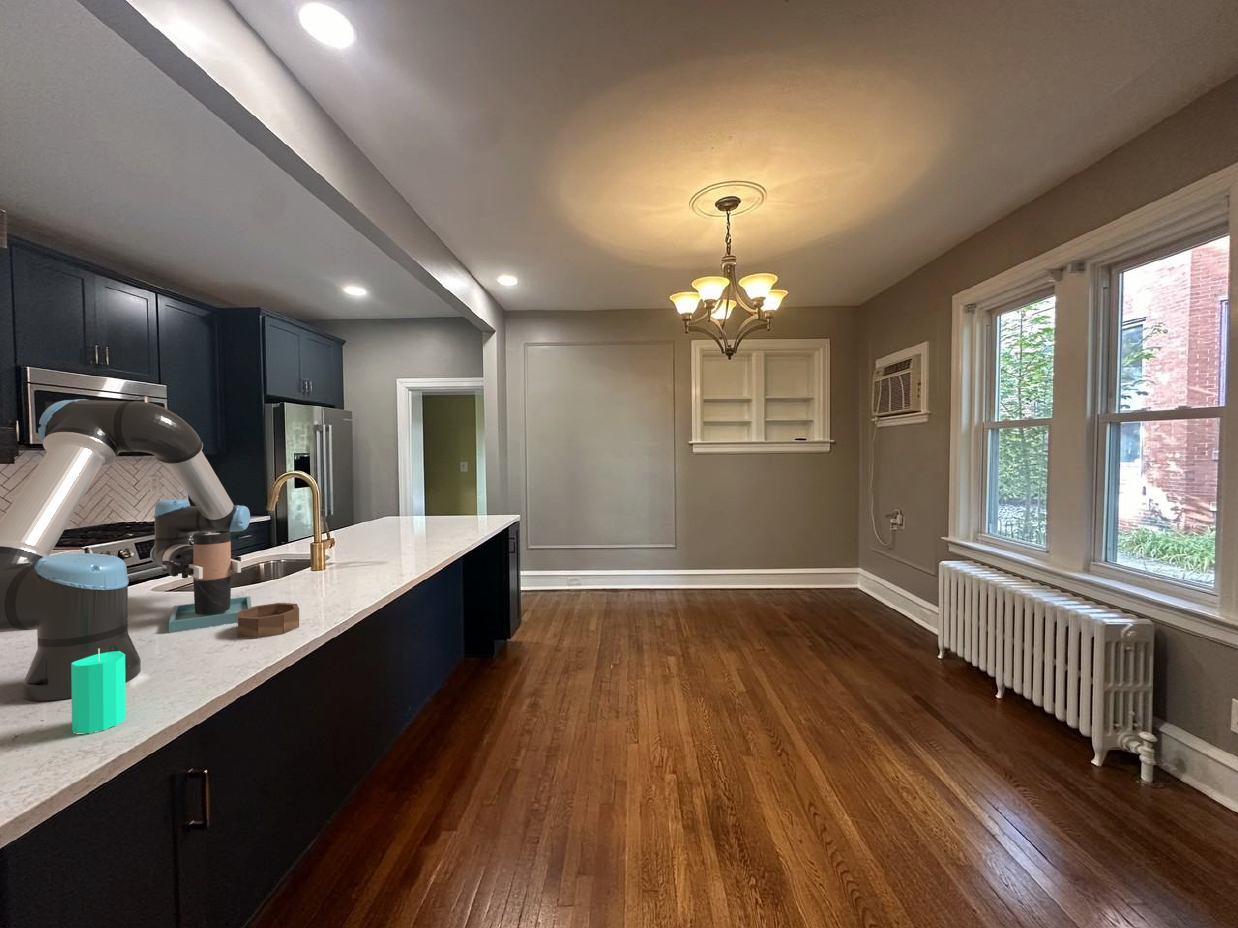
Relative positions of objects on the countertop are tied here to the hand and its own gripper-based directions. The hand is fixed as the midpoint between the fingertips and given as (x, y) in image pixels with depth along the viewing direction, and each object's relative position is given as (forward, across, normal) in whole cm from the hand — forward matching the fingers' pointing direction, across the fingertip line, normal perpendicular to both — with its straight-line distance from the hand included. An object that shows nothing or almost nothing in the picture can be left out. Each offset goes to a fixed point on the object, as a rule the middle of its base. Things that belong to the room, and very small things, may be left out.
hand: (220, 570), depth 130 cm
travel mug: (-5, 0, -11) cm, 12 cm away
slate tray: (-5, 0, -13) cm, 14 cm away
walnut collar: (+16, -4, -13) cm, 21 cm away
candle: (+42, +31, -13) cm, 54 cm away
